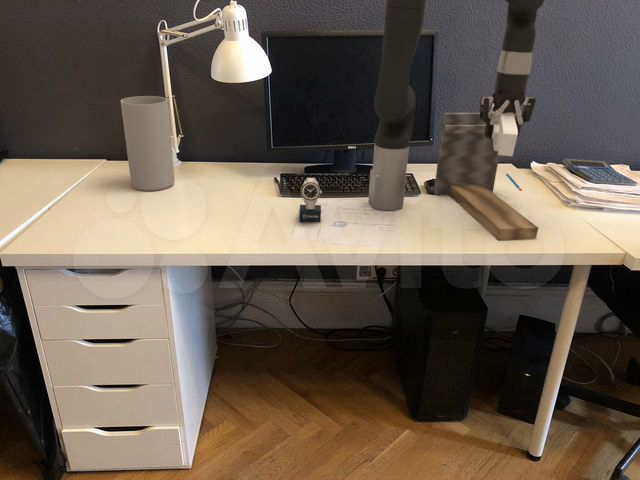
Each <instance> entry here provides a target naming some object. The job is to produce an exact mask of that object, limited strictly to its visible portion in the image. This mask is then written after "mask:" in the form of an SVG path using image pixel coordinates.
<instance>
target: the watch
mask: <svg viewBox="0 0 640 480" xmlns="http://www.w3.org/2000/svg"><path fill="white" fill-rule="evenodd" d="M318 183H319V182H318V180H316V177H306V180H304V182H303V184H302V186H301V189H300V193H301V194H300V195H301V197H302V199H303V203H304V204H299V211H298V213H299V216H298V218H299V223H321V222H322V221H321V220H322V217H321V216H322V205H321V204H317V202H318V200H319V198H320V195H321V194H323V191H322V190H321V188H320V186H319V184H318Z"/></svg>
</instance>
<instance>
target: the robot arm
mask: <svg viewBox="0 0 640 480" xmlns="http://www.w3.org/2000/svg"><path fill="white" fill-rule="evenodd" d="M505 2H507V3H508V6H507V15H506V16H507V17H506V27H505V32H504V36H503V42H502V47H501V53H500V56H499V59H498V65H497V71H496V76H495V82H494V92H493V93H492V96H483V95H482V96H481V97H480V101H479V102H480V103H479V113H480V117H479V118H480V120H482V121H484V122H486V127H485V133H484V134H485V136H486V138H488V139H492V133H493V127H494V125H493V124H494V123H495V121H496V120H497V118H498V117H500V115H501V114H502V113H513V114H514V117H515V122H516V125H517V129H518V135H517V138H519V137H520V132H521V128H522V125H523V124H524V123H530V120H531V118H532V115H533V112H534V111H533V110H534V108H535V105H536V101H537V99H536V98H535V97H532V96H526V91H527V87H528V82H529V79H530V72H531V68H532V63H533V61H532V60H533V51H534V46H535V42H536V34H537V33H536V32H537V31H536V19H537V15H538V10H539V9H540V8H541V7H542V5H543V4H544V2H545V0H505ZM385 6H386V7H385V15H384V25H383V26H384V27H383V39H382V52H381V53H382V54H381V63H380V71H379V76H378V82H377V85H376V87H377V88H376V89H375V90H376V91H375V97H374V100H373V101H374V103H373V104H374V110H375V113H376V115H377V117H378V118H379V125H378V128H377V130H376V133H375V136H374V148H373V159H372V168H370V173H369V185H368V187H369V188H368V200H367V201H368V203H369V204H370V206H371V208H373V209H375V210H377V209H378V210H381V211H384V210H385V211H396V210H400V209H401V208H404V207H403V206H404V201H405V187H406V180H407V178H406V177H407V169H408V168H407V167H408V159H409V151H410V140H411V137H412V133H413V130H414V120H415V115H416V93H415V92H414V89H413V88H412V87H411V86H410V85H409V83H410V82H409V81H410V73H411V72H410V70H411V67H412V62H413V58H414V56H415V53H416V50H417V47H418V44H419V41H420V39H421V38H420V37H421V34H422V30H423V24H424V15H425V9H426V0H386V4H385ZM491 104H492V105H493V104H494V106H493V107H491V109H490V106H491ZM522 104H523V105H524V106H523V109H521V106H522ZM489 112H490V114H489ZM488 114H489V115H488Z"/></svg>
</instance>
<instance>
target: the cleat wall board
mask: <svg viewBox="0 0 640 480" xmlns="http://www.w3.org/2000/svg"><path fill="white" fill-rule="evenodd" d="M489 114H490V111H489ZM489 114H488V115H489ZM442 116H443V117H442V124H441V125H442V126H441V131H440V132H441V133H440V141H439V150H438V157H437V164H436V165H437V166H436V173H435V181H434V189H433V194H434V195H435V196H449V197H451V198H452V200H454V201H455V202H456V203H457V204H458V205H459V206H460V207H462V208H463V209H464V210H465V211H466V212H467V214H469V215H470V216H471V217H472V218H473V219H474V220H475V221H476V222H477V223H479V224H480V225H481V226H482V227H483V228H484V229H485V230H487V232H489V233H490V234H491V235H492V236H493V237H494V238H495V239H496V240H497V241H513V240H517V241H518V240H530V239H531V240H534V238H536V239H537V236H538V230H539V227H538V226H537V225H536V224H534V223H533V222H532V221H530V220H529V219H528V218H526V217H525V216H524V215H523V214H521V213H520V212H519V211H517V210H516V209H514V207H512V206H511V205H509V204H508V203H507V202H506V201H504V200H503V199H501V198H500V197H499V196H498V195H496V194H495V193H494V190H495V189H494V186H495V182H496V181H495V180H496V175H497V171H498V165H499V159H500V155H498V151H494V147H493V139H488V138H486V136H485V134H484V133H485V127H486V122H484V121H482V120H480V118H479V117H480V112H443V115H442Z"/></svg>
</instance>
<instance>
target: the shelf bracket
mask: <svg viewBox="0 0 640 480" xmlns="http://www.w3.org/2000/svg"><path fill="white" fill-rule="evenodd" d="M493 106H494V104H493V103H492V107H493ZM492 107H491V108H492ZM493 125H494V127H493V133H492V139H493V147H494V151H498V155H499V156H504V157H505V156H506V157H513V155H514V152H515V147H516V143H517V139H518V137H517V135H518V129H517V125H516V122H515V117H514V114H513V113H502V114H501V115H500V117H498V118H497V120H496V121H495V123H494V124H493Z"/></svg>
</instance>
